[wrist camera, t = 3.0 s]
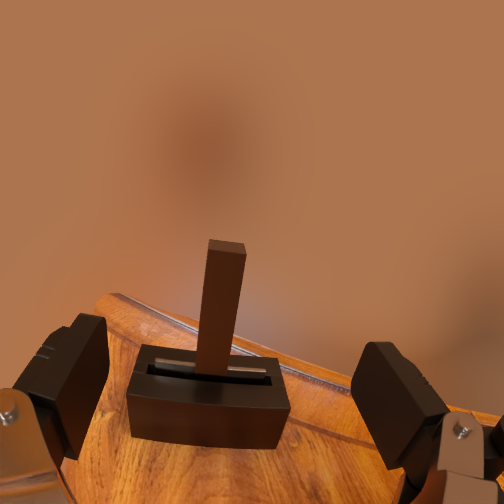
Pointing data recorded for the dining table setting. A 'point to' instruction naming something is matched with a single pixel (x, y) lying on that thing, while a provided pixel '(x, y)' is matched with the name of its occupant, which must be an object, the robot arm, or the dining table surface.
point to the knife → (216, 322)
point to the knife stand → (206, 404)
